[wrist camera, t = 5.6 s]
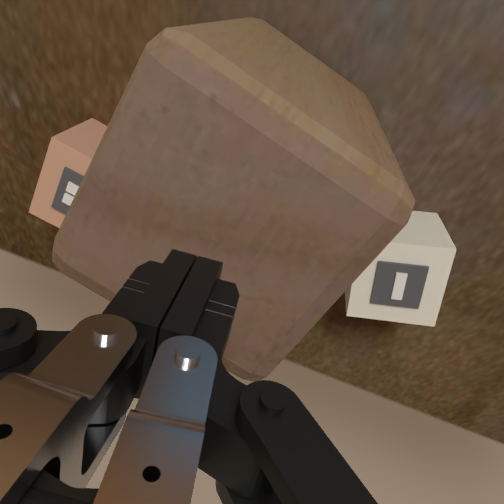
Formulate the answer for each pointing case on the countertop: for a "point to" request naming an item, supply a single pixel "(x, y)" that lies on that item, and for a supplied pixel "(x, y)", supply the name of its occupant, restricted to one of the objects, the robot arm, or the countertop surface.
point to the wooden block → (239, 182)
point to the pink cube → (65, 170)
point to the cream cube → (406, 275)
